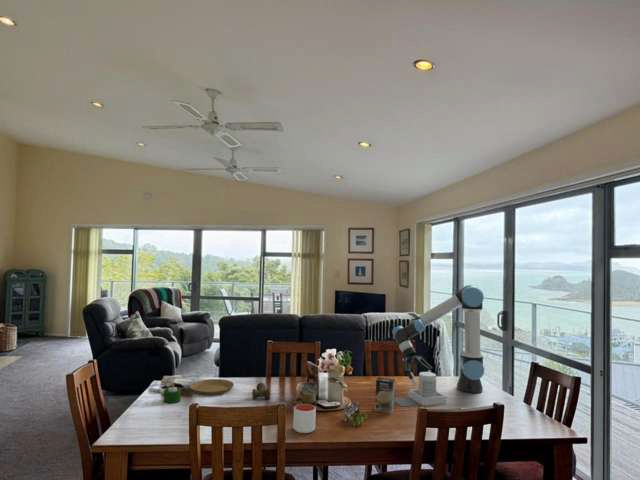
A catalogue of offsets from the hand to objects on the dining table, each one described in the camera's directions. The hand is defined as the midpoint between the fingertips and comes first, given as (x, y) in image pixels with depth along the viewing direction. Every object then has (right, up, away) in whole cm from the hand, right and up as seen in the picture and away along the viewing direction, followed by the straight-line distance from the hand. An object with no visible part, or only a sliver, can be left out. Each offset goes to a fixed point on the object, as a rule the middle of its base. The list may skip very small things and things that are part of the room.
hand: (424, 382), depth 246 cm
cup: (-67, -5, -49) cm, 83 cm away
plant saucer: (-121, -6, +3) cm, 122 cm away
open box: (+1, -9, -1) cm, 10 cm away
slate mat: (-12, -9, -6) cm, 16 cm away
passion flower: (-43, -7, -38) cm, 58 cm away
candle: (-137, -4, -18) cm, 139 cm away
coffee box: (-26, -8, -21) cm, 34 cm away
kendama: (-92, -6, -6) cm, 93 cm away
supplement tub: (+1, -10, -1) cm, 10 cm away
